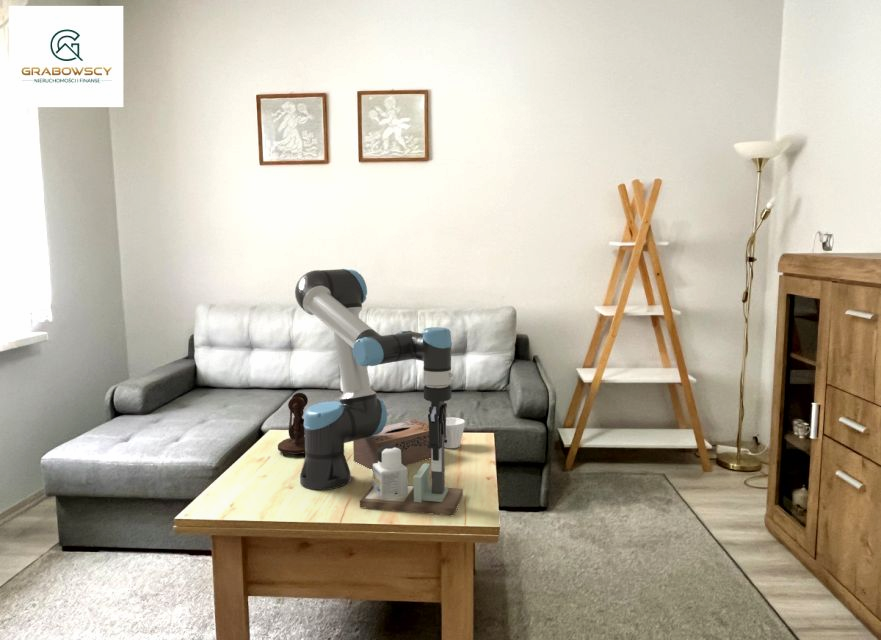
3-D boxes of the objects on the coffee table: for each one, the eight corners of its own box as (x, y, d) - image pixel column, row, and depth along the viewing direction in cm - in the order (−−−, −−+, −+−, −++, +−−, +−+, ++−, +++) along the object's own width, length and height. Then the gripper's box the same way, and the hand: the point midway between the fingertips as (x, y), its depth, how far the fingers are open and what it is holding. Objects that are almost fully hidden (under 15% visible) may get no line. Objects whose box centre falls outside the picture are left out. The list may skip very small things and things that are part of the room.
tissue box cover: (415, 446, 227) (415, 419, 225) (441, 456, 216) (441, 427, 214) (353, 462, 210) (353, 432, 209) (378, 474, 199) (377, 443, 198)
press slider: (413, 502, 171) (413, 440, 169) (423, 487, 182) (423, 428, 180) (441, 504, 169) (440, 441, 167) (449, 488, 180) (449, 430, 178)
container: (372, 489, 180) (371, 445, 179) (398, 485, 183) (397, 441, 182) (381, 499, 173) (381, 453, 172) (408, 494, 176) (407, 449, 175)
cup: (436, 450, 221) (436, 425, 219) (437, 442, 230) (437, 417, 229) (465, 451, 220) (465, 425, 219) (465, 442, 230) (465, 417, 229)
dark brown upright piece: (282, 444, 228) (280, 390, 226) (323, 443, 229) (322, 389, 227) (274, 458, 214) (271, 400, 211) (318, 457, 215) (316, 399, 212)
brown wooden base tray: (359, 507, 173) (359, 500, 173) (375, 488, 187) (375, 481, 186) (453, 515, 167) (453, 507, 167) (462, 495, 181) (462, 488, 181)
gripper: (445, 392, 163) (445, 480, 166) (456, 379, 179) (456, 459, 181) (416, 390, 165) (417, 478, 167) (430, 378, 180) (431, 458, 183)
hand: (438, 468), depth 174 cm, fingers closed on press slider, 3 cm apart
